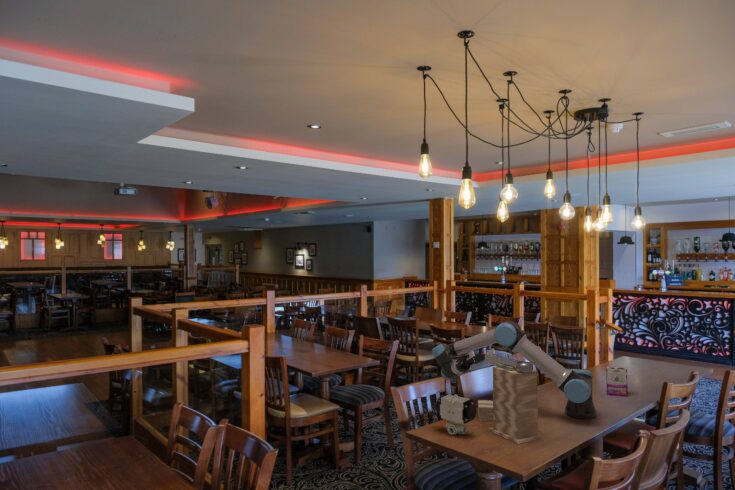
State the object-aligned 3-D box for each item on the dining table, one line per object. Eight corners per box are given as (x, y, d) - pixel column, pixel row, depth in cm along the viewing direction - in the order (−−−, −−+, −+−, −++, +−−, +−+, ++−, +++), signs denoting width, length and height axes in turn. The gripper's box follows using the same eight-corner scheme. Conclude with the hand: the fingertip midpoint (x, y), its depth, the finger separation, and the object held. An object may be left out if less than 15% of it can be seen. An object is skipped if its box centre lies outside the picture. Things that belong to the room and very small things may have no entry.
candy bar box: (626, 394, 297) (626, 366, 298) (627, 396, 293) (627, 368, 293) (606, 392, 302) (605, 365, 302) (606, 394, 297) (606, 367, 297)
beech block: (478, 412, 265) (478, 399, 266) (497, 413, 263) (497, 400, 264) (478, 420, 252) (478, 407, 252) (499, 421, 250) (499, 408, 250)
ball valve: (434, 431, 237) (433, 393, 237) (443, 426, 243) (443, 389, 244) (468, 440, 225) (467, 400, 226) (477, 435, 232) (476, 396, 232)
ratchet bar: (482, 362, 247) (482, 354, 247) (493, 361, 251) (493, 353, 251) (524, 374, 223) (524, 365, 223) (535, 372, 226) (535, 363, 226)
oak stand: (488, 430, 237) (488, 363, 238) (512, 425, 244) (511, 360, 245) (518, 444, 221) (517, 371, 221) (542, 437, 228) (542, 368, 228)
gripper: (481, 370, 276) (505, 356, 260) (444, 374, 264) (467, 361, 248) (476, 356, 279) (500, 343, 263) (440, 361, 268) (462, 347, 252)
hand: (484, 352), depth 256 cm, fingers open, 13 cm apart
